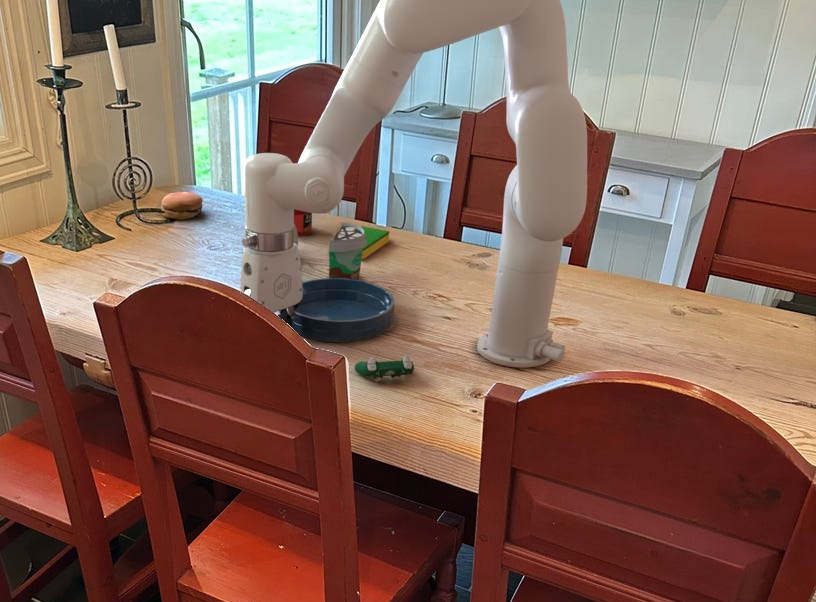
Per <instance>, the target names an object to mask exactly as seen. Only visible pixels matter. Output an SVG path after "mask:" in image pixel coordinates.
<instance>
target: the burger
mask: <svg viewBox="0 0 816 602" xmlns="http://www.w3.org/2000/svg"><path fill="white" fill-rule="evenodd" d="M203 200H204V199H203V197H201V196H200V195H199V194H197V193H193V192H191V191H187V190H186V191H176V192H171V193H168V194H166V195H165V196H164V197H163V198H162V200H161V206H160V209H161V212H162V211H164V212H165V213H162V216H163V217H165V218H168V219H173V220H182V221H183V220H189V219H192V218H194V217H196V216H197V215H198V214H200V213H201V212H202V210H203V202H204V201H203Z"/></svg>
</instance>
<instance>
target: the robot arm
mask: <svg viewBox="0 0 816 602" xmlns="http://www.w3.org/2000/svg"><path fill="white" fill-rule="evenodd" d="M495 29H499V32H500V36H501V40H502V48H503V59H504V69H505V70H504V71H505V93H506V94H505V95H506V115H505V116H506V119H505V121H506V122H505V124H506V128H507V132H508V134H509V136H510V138H511V139H512V141H513V143H514V144H515V148H516V149H515V153H516V165H515V167H514V168H513V169H512V170H511V172H510V173H509V176H508V178H507V181H506V184H505V189H504V194H503V195H504V196H503V211H502V226H501V227H502V229H501V238H500V246H499V254H498V261H497V268H496V275H495V282H494V289H493V290H494V291H493V297H492V305H491V312H490V319H489V324H488V325H489V327H488V333H485V334H483V335H482V336H480V337H479V339H478V340H477V345H476V350H477V352H478V353H479V355H480V356H481V357H483V358H484V359H485V360H487V361H489V362H492V363H494V364H496V365H499V366H505V367H509V368H517V369H518V368H519V369H520V368H521V369H522V368H523V369H524V368H526V369H528V368H535V367H539V366H540V367H541V366H543V365H545V364H547V363H548V362H550V361H551V360H552V361H555V362H558V363H560V362H562V360H563V359H564V356H565V349H566V346H565V344H562V343H559V342H556V341H555V342H554V340H553V335H554V331H553V330H551V329H549V323H550V317H551V312H552V306H553V301H554V295H555V289H556V285H557V279H558V273H559V268H560V263H561V257H562V253H563V244H564V238H566V237H568V236H570V235H571V234H572V233H573V232H574V231H575V230H576V229H577V228H578V226H579V225H580V224H581V222H582V221H583V218H584V215H585V213H586V206H587V197H588V129H587V128H588V127H587V120H586V116H585V112H584V109H583V107H582V105H581V103H580V102H579V100H578V99H577V98H576V96H574V95H573V94H572V93H571V91H570V84H569V68H568V66H569V64H568V63H569V61H568V49H567V48H568V47H567V28H566V20H565V14H564V10H563V6H562V1H561V0H379V1H378V3H377V6H376V7H375V10H374V11H373V13H372V15H371V17H370V19H369V21H368V23H367V25H366V27H365V28H364V31H363V33H362V35H361V37H360V38H359V41H358V43H357V45H356V47H355V48H354V50H353V52H352V54H351V56H350V58H349V60H348V61H347V64H346V66H345V68H344V69H343V72H342V73H341V76H340V77H339V79H338V81H337V83H336V85H335V87H334V90H333V92H332V94H331V97H330V99H329V101H328V102H327V104H326V106H325V109H324V111H323V112H322V114H321V116H320V118H319V120H318V122H317V123H316V126H315V127H314V129H313V132H312V133H311V135H310V137H309V139H308V140H307V143H306V145H305V146H304V149H303V151H302V153H301V155H300V157H299V159H298V162H295V163H293V161H292V160H291V159H290V158H289V157H288V156H287V155H284V154H280V153H276V152H275V153H274V152H261V153H255V154H253V155H249V156H248V157H247V158H246V160H245V161H244V164H243V189H244V192H243V194H244V221H245V222H244V223H245V237H243V238H242V239H241V244H242V246H243V247H245V248H244V249H243V254H242V260H241V270H240V293H241V292H243V293H245V294H247V295H249V296H250V297H252V298H253V299H255V300H256V301H258V302H260V303H261V304H262V305H264V306H265V307H267V308H268V309H269V310H271V311H272V312H273V313H272V314H274V313H277V312H279V313H278V314H277V315H278V316H279V317H280V318H281V319H283V320H284V321H285V322H286V323H288V324H289V325H290V326H291V327H292V319H293V318H294V317H295V315H296V314H295V311H296V309H297V308H298V306H299V304H300V301H301V300H302V298H303V297H304V295H305V293H306V291H305V290H304V288H303V287H302V282H303V272H302V263H301V262H302V261H301V256H300V250H299V246H297V244H296V243H294V209H295V210H300V211H304V212H309V213H312V214H317V215H319V214H326V213H330V212H332V211H333V210H334V209H336V208H337V207H338V206H339V205H340V204H341V202H342V199H343V197H344V194H345V193H344V192H345V176H346V174H347V172H348V170H349V168H350V167H351V164H352V162H353V161H354V159H355V157H356V155H357V154H358V151H359V150H360V148H361V146H362V145H363V143H364V141H365V140H366V138H367V136H368V135H369V134H370V132H371V131H372V130H373V129H374V127H375V126H377V124H379V123H380V122H381V121H383V120H384V119H386V118H387V116H388V115H389V114H390V112H391V111H392V110H393V108H394V107H395V105H396V103H397V101H398V100H399V98H400V96H401V95H402V92H403V90H404V88H405V87H406V84H407V83H408V81H409V79H410V78H411V76H412V74H413V72H414V71H415V68H416V66H417V64H418V63H419V61H420V60H421V58H422V56H423V55H424V53H427V52H430V51H431V52H432V51H435V50H438V49H441V48H444V47H447V46H450V45H453V44H456V43H459V42H461V41H465V40H467V39H469V38H472V37H475V36H478V35H481V34H483V33H486V32H489V31H492V30H495Z"/></svg>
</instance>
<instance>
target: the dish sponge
mask: <svg viewBox="0 0 816 602" xmlns="http://www.w3.org/2000/svg"><path fill="white" fill-rule="evenodd" d="M360 227H361V228H362V229H363V230H364V233H365V235H366V241H367V243H366V245H365V246H364V247H363V250H362V259H361V260H364V259H365V258H367V257H368V256H370V255H371V254H373V253H374V252H376V251H377V250H379V249H380V248H381V247H383V246H384V245H386V244H388V243H389V241H390V230H384V229H379V228H374V227H368V226H364V225H361V226H360Z"/></svg>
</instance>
